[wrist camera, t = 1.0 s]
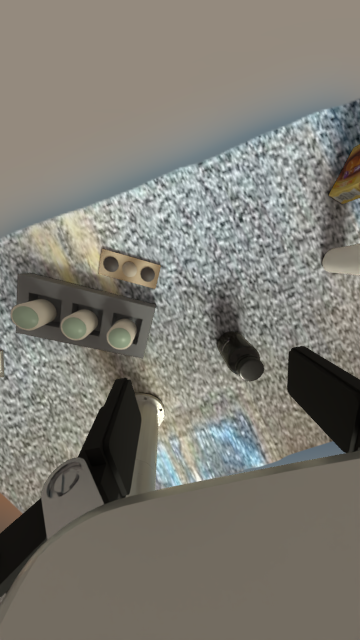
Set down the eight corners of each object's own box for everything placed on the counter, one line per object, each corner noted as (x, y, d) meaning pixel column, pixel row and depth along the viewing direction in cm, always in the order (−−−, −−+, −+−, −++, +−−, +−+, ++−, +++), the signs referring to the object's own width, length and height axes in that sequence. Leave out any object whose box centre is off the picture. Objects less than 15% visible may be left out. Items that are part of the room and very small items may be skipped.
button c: (55, 325, 35) (39, 333, 31) (29, 319, 35) (9, 327, 30) (57, 302, 34) (41, 307, 30) (30, 296, 34) (9, 300, 29)
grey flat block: (156, 304, 40) (155, 308, 36) (144, 351, 43) (143, 358, 39) (31, 273, 36) (17, 273, 32) (28, 327, 39) (16, 332, 36)
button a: (134, 342, 38) (130, 352, 33) (111, 337, 37) (104, 347, 33) (139, 321, 37) (135, 329, 32) (115, 316, 36) (108, 323, 31)
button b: (96, 334, 37) (86, 343, 32) (72, 328, 36) (58, 337, 31) (99, 312, 35) (90, 319, 31) (74, 306, 35) (61, 312, 30)
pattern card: (160, 265, 37) (160, 265, 37) (155, 288, 39) (155, 288, 38) (103, 248, 36) (101, 248, 35) (99, 273, 37) (98, 273, 36)
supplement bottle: (215, 332, 43) (233, 356, 31) (242, 328, 43) (270, 351, 32) (217, 357, 45) (234, 388, 33) (243, 353, 45) (269, 383, 34)
